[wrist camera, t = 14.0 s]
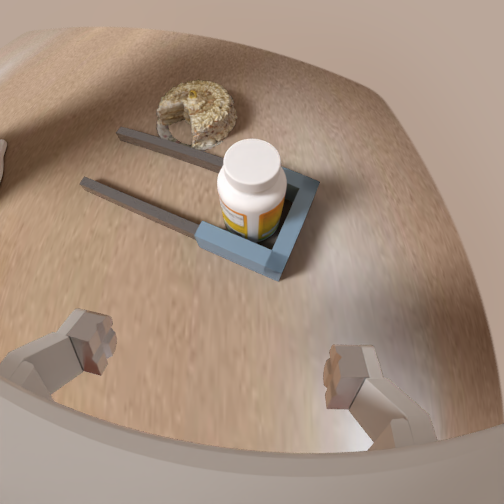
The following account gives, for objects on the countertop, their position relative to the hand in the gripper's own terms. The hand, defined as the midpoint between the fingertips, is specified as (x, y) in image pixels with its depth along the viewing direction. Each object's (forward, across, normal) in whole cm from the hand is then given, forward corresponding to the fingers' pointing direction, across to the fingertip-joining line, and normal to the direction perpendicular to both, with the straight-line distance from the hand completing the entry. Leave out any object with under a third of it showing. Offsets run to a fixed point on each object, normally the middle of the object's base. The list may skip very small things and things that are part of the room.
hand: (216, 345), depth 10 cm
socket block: (+20, 0, +3) cm, 20 cm away
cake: (+29, +8, -6) cm, 31 cm away
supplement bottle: (+20, 0, +3) cm, 20 cm away
